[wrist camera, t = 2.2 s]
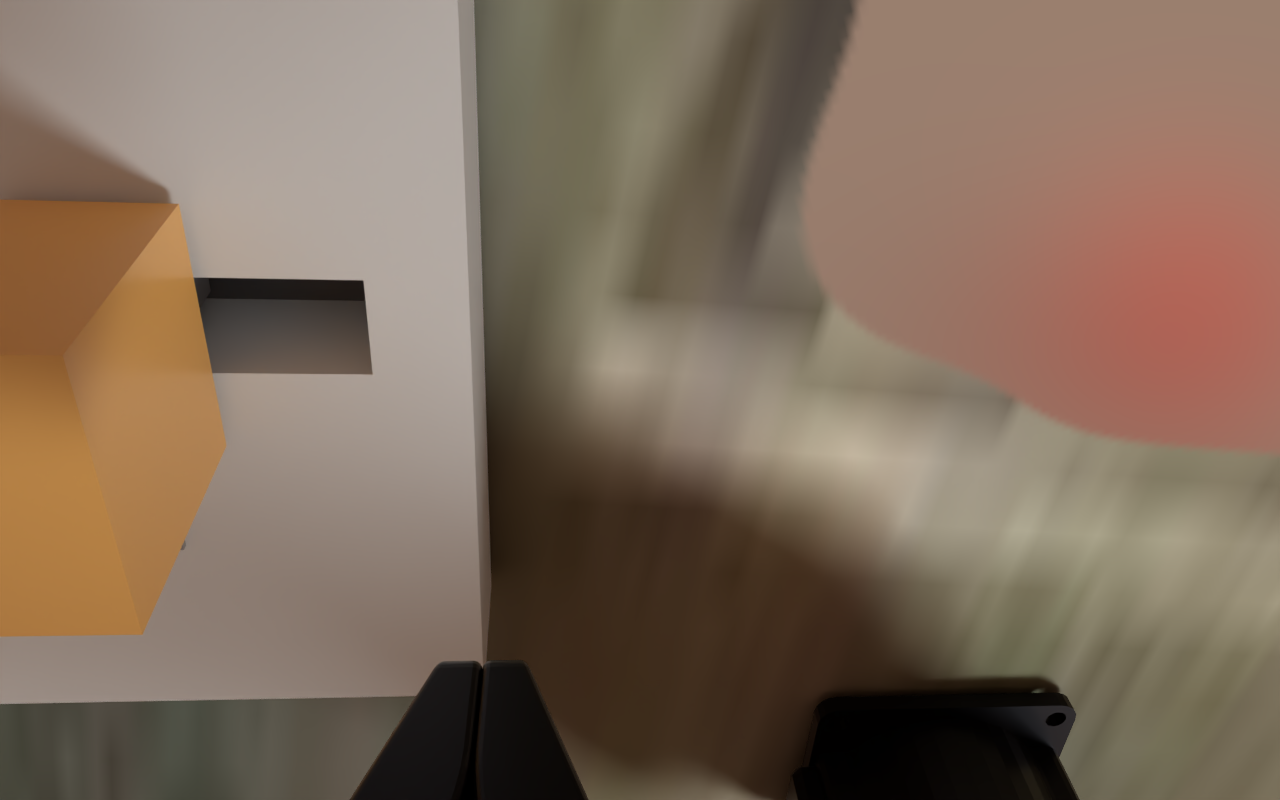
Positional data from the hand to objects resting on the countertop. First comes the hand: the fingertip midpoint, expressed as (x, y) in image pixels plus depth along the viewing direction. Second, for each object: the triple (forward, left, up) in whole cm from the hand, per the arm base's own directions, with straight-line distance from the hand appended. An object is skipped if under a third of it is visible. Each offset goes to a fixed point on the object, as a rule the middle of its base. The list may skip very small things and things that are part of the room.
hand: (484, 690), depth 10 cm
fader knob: (+6, 0, -10) cm, 11 cm away
